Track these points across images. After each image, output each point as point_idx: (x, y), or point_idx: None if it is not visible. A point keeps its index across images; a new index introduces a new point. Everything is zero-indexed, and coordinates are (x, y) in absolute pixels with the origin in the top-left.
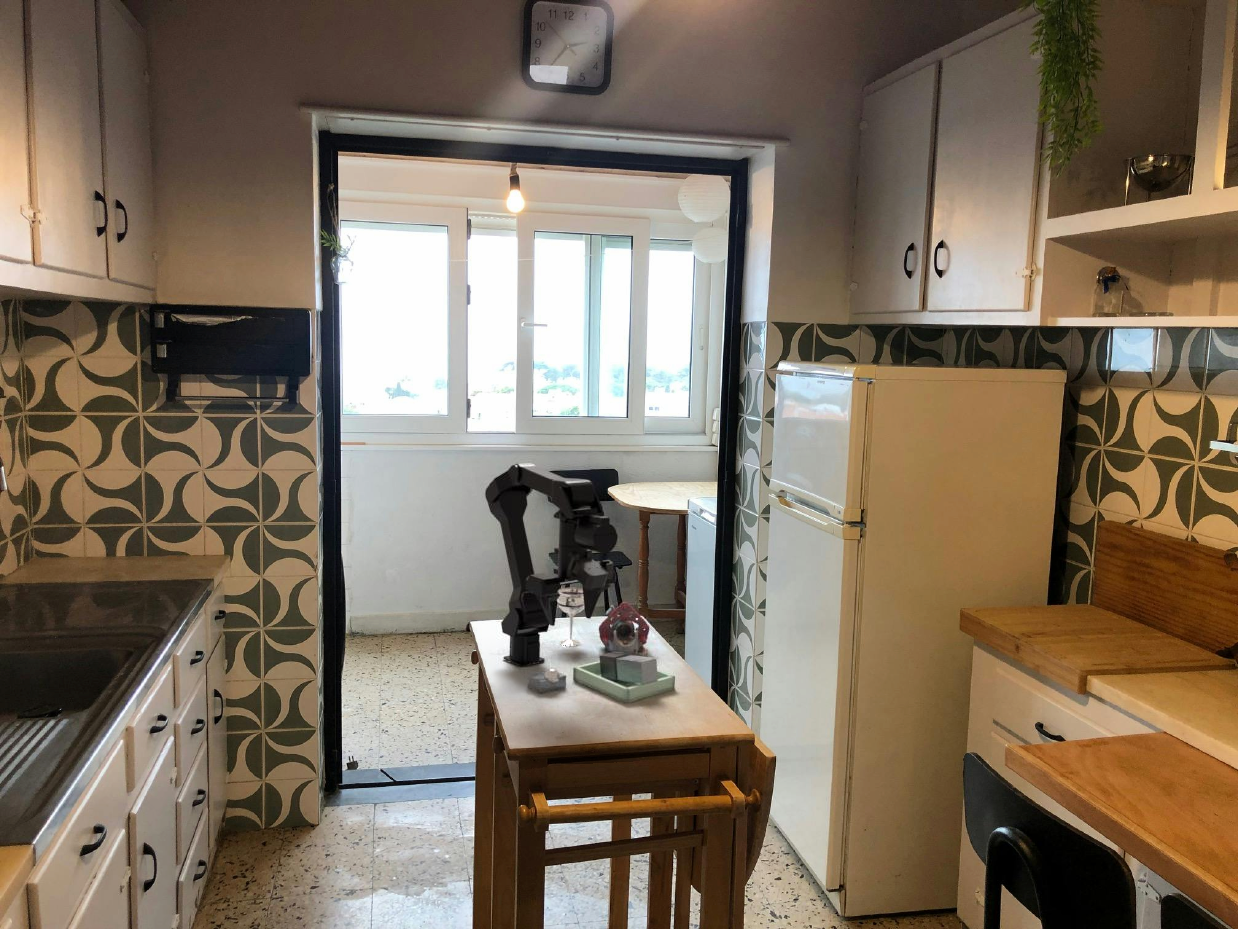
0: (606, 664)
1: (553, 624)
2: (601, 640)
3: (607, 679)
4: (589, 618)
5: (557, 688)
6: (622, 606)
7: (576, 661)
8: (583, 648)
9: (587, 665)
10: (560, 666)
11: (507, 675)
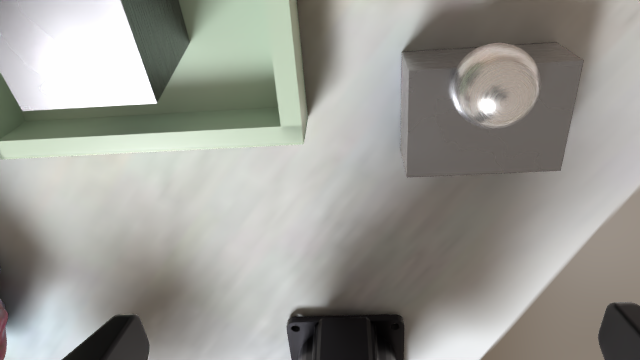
0: (153, 21)
1: (637, 311)
2: (5, 343)
3: None
4: (131, 314)
5: (454, 51)
6: None
7: (174, 272)
8: None
9: (223, 129)
10: (261, 261)
11: (496, 280)
